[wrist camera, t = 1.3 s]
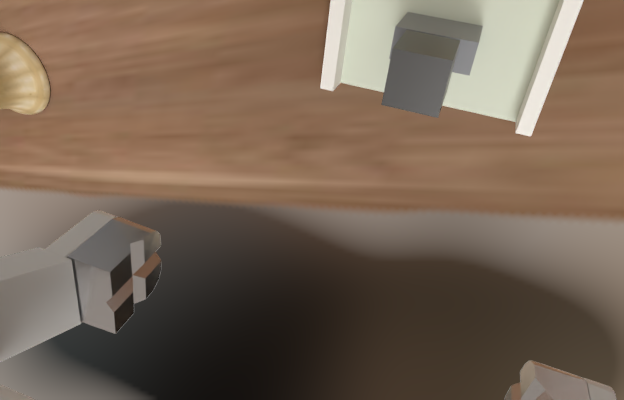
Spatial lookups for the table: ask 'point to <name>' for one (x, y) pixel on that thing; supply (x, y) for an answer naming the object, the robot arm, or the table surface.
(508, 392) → the robot arm
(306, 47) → the table surface
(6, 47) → the hand bell
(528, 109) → the tray
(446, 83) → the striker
